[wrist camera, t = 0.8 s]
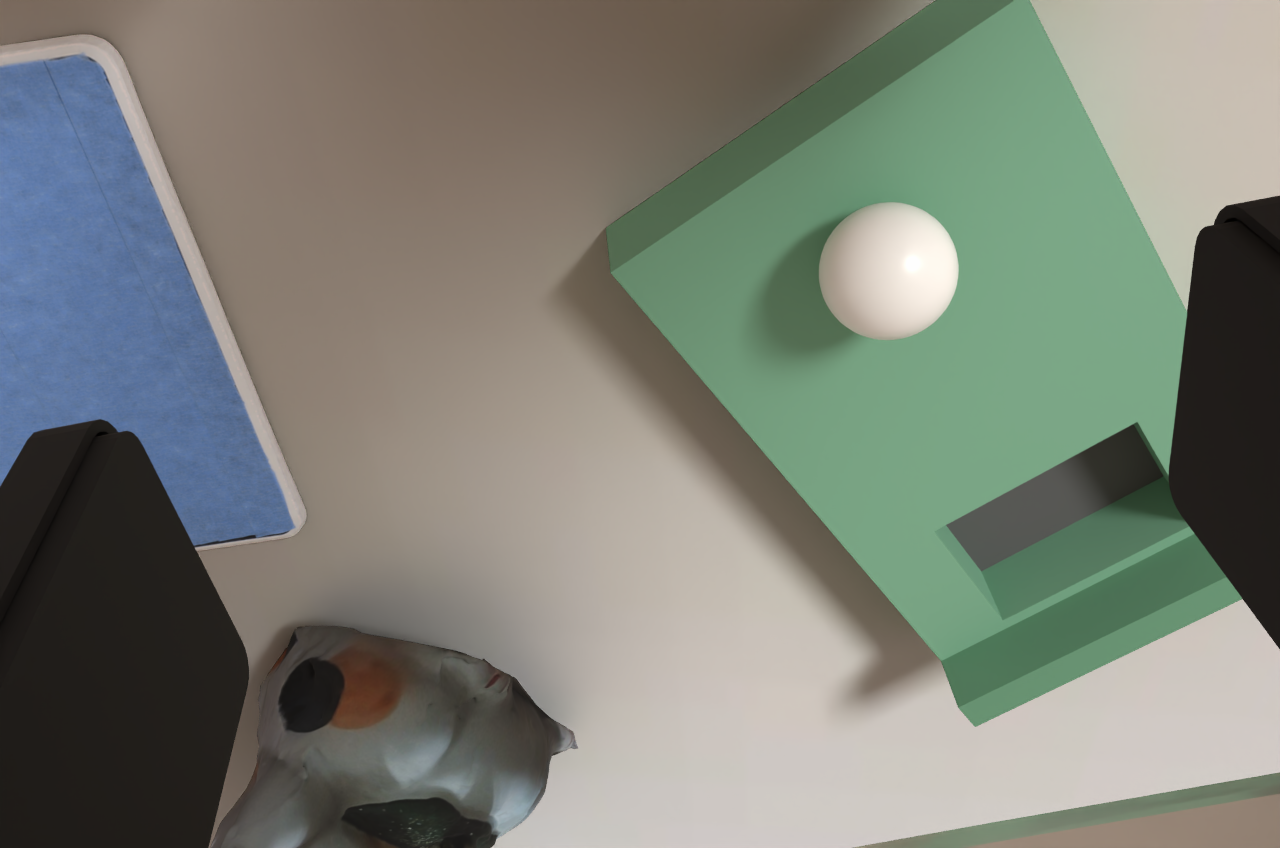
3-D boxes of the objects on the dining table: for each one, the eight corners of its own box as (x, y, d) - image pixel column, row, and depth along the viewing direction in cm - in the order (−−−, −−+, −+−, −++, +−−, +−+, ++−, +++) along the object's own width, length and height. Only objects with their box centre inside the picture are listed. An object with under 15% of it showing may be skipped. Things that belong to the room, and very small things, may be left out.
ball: (898, 153, 35) (936, 214, 31) (959, 250, 37) (1000, 317, 34) (783, 229, 36) (807, 295, 33) (847, 318, 38) (877, 389, 35)
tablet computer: (316, 519, 46) (311, 542, 45) (-2, 566, 46) (-15, 590, 45) (119, 20, 34) (106, 36, 33) (-305, 88, 35) (-331, 105, 33)
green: (991, -39, 35) (1057, 20, 30) (1250, 466, 47) (1324, 559, 43) (605, 227, 39) (614, 313, 34) (937, 627, 51) (975, 727, 47)
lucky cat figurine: (602, 766, 55) (497, 1098, 48) (374, 711, 59) (245, 1011, 51) (520, 622, 43) (364, 1035, 36) (240, 565, 47) (47, 929, 39)
